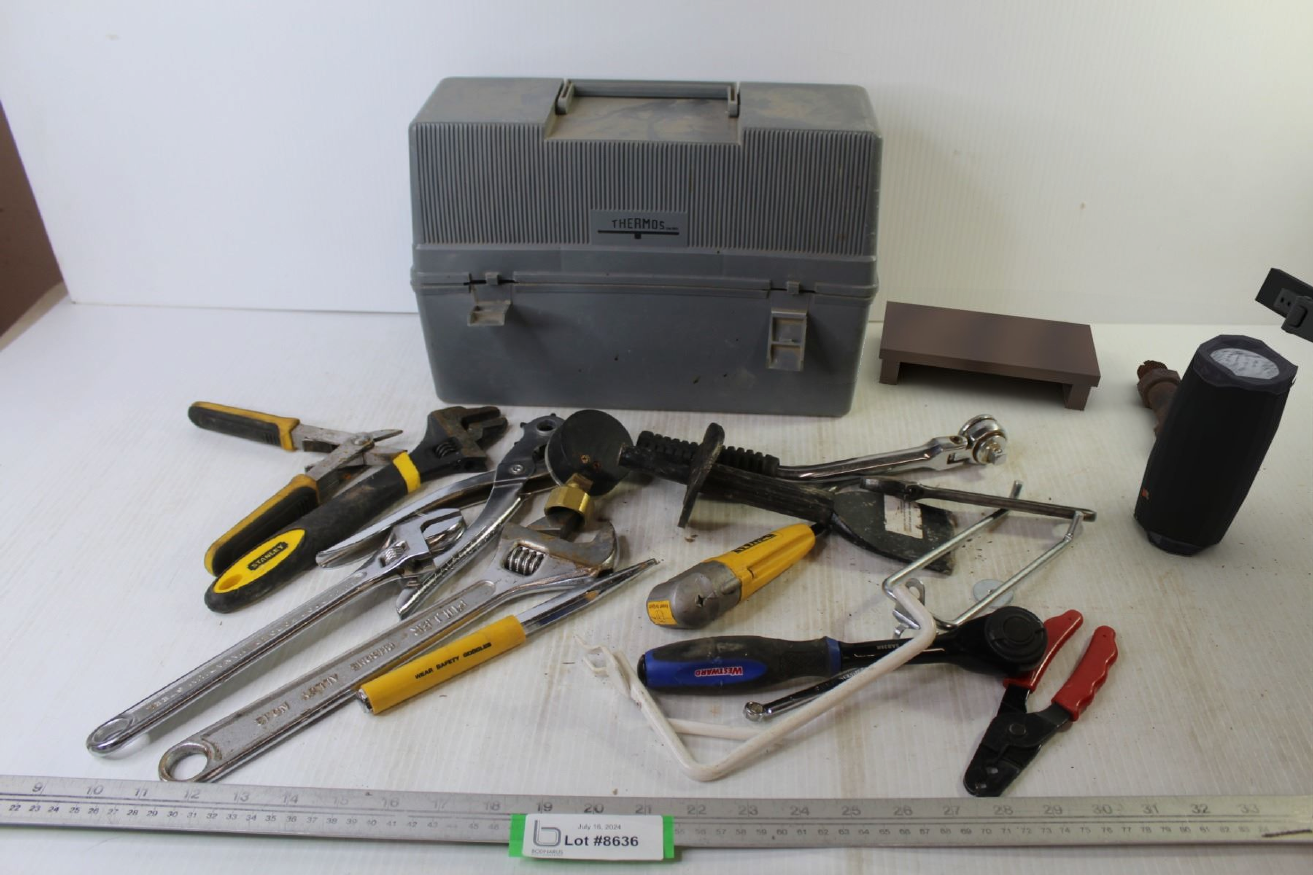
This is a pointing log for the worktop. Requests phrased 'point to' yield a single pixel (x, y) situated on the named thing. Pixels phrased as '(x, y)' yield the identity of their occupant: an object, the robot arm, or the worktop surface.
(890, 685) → the worktop surface
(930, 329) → the shelf
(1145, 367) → the bolt
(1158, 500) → the portable speaker
